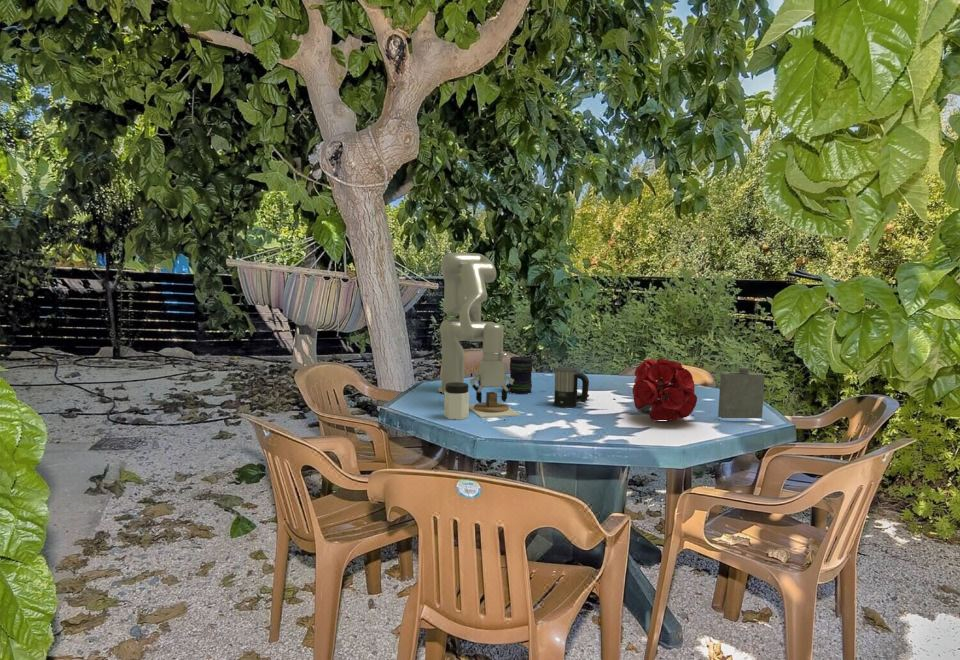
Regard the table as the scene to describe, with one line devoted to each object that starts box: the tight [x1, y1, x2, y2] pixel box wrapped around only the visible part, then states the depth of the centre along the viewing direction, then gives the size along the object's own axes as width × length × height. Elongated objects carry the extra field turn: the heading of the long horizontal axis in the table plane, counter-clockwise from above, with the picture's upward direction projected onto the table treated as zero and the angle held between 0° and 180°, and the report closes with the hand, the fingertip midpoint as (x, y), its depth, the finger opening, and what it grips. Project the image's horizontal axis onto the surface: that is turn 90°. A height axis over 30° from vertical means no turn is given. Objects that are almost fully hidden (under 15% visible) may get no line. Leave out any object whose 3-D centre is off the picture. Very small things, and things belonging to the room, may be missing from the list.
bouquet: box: [632, 357, 698, 421], centre depth 226 cm, size 22×24×30 cm
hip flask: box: [717, 366, 766, 419], centre depth 225 cm, size 16×4×20 cm, turn 91°
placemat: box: [469, 402, 521, 419], centre depth 232 cm, size 20×15×1 cm
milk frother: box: [553, 366, 590, 408], centre depth 247 cm, size 14×16×15 cm
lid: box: [474, 391, 509, 413], centre depth 233 cm, size 13×13×6 cm
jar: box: [443, 382, 470, 421], centre depth 221 cm, size 9×8×12 cm
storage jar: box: [508, 356, 533, 395], centre depth 268 cm, size 10×10×15 cm
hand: (491, 401), depth 233 cm, fingers open, 9 cm apart
